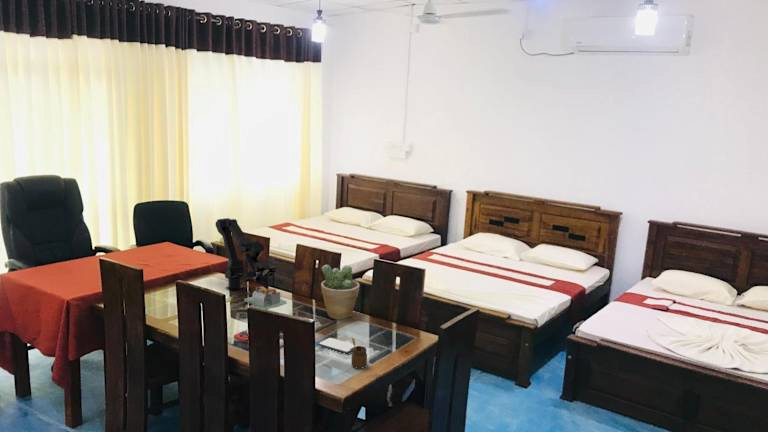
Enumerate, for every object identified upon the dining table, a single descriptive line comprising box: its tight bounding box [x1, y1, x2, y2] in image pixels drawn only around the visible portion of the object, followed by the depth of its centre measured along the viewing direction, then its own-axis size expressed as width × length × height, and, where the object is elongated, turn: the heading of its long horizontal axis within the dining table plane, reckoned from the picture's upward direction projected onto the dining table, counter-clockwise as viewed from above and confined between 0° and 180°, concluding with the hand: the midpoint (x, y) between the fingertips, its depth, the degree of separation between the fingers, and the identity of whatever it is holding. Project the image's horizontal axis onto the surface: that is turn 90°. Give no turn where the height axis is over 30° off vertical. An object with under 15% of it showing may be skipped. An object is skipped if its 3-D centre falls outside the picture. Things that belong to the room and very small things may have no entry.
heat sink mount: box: [243, 286, 287, 310], centre depth 288 cm, size 17×13×7 cm
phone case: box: [317, 337, 359, 355], centre depth 237 cm, size 9×2×16 cm
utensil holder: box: [351, 337, 368, 369], centre depth 220 cm, size 6×6×12 cm
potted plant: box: [320, 264, 360, 320], centre depth 272 cm, size 18×19×25 cm
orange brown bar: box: [257, 285, 277, 294], centre depth 286 cm, size 12×3×2 cm, turn 50°
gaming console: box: [233, 329, 248, 344], centre depth 249 cm, size 24×3×10 cm
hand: (267, 288), depth 286 cm, fingers closed, pressing on orange brown bar
